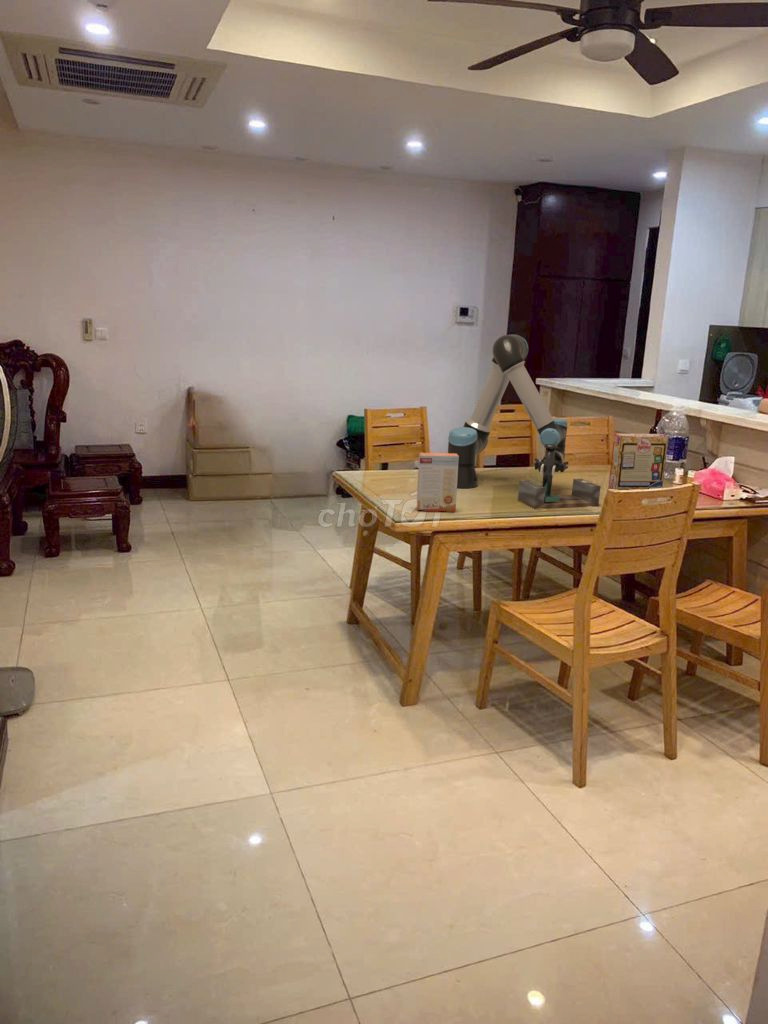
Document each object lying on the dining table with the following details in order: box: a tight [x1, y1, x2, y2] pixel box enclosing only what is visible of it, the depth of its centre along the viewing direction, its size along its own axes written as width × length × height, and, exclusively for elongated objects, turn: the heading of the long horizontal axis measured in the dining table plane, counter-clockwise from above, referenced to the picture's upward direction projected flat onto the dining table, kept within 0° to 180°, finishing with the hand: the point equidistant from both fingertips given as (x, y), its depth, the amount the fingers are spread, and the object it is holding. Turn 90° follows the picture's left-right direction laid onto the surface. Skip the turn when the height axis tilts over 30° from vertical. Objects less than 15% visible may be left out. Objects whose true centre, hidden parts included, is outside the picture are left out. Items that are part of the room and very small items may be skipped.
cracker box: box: [416, 452, 459, 513], centre depth 275 cm, size 14×6×21 cm, turn 92°
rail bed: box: [517, 478, 601, 510], centre depth 294 cm, size 28×13×8 cm, turn 108°
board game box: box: [607, 433, 670, 490], centre depth 301 cm, size 20×6×27 cm, turn 98°
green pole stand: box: [541, 444, 560, 502], centre depth 290 cm, size 6×10×21 cm, turn 18°
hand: (547, 471), depth 285 cm, fingers closed on green pole stand, 4 cm apart
